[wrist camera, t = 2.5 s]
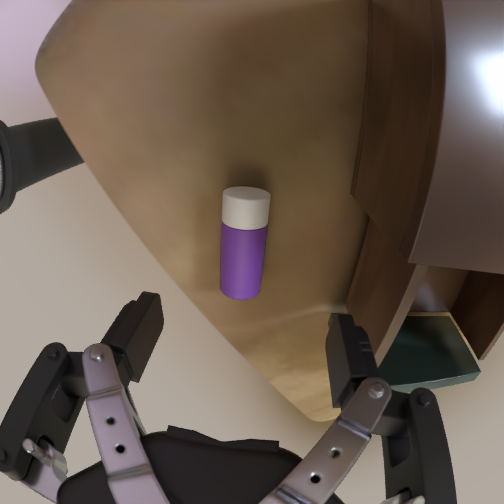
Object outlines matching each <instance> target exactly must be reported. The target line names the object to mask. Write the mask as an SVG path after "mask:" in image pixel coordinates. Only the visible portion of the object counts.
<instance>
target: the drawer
mask: <svg viewBox="0 0 504 504" xmlns="http://www.w3.org/2000/svg"><path fill="white" fill-rule="evenodd" d="M345 303H346V307H347V310H348V313H349V314H351V315H352V316H353V320H354V323H355V326H361V327H362V328H363V329H364V330H365V331H366V333H367V334H368V337H369V340H370V344H371V347H372V352H373V353H374V357H375V360H376V364H377V367H378V371H379V374H380V377H381V379H383V380H385V381H386V382H387V383H388V384H389V385H390V387H391V389H392V390H395V391H399V392H403V393H407V392H412V391H413V390H414V389H416V388H419V387H423V388H427V389H434V388H440V387H445V386H451V385H455V384H460V383H464V382H468V381H473V380H475V379H476V377H477V376H478V375H479V374H480V372H481V371H480V369H479V367H478V365H477V363H476V361H475V359H474V357H473V356H472V354H471V352H470V350H469V348H468V347H467V345H466V343H465V341H464V340H463V338H462V336H461V335H460V333H459V331H458V330H457V328H456V326H455V325H454V323H453V321H452V320H451V318H450V317H449V316H407V314H408V312H409V311H416V312H450V314H451V315H452V317H453V318H454V320H455V321H456V323H457V324H458V326H459V328H460V329H461V331H462V333H463V334H464V336H465V337H466V339H467V341H468V343H469V344H470V346H471V348H472V349H473V351H474V353H475V355H476V356H477V358H478V360H483V359H484V358H485V357H486V356H487V354H488V353H489V351H490V350H491V348H492V347H493V346H494V344H495V343H496V341H497V340H498V338H499V337H500V335H501V333H502V332H503V330H504V274H498V273H490V272H482V271H473V270H465V269H456V268H448V267H439V266H430V265H422V264H413V263H407V262H406V261H405V259H404V258H403V257H402V256H401V254H400V253H399V252H398V251H397V249H396V248H395V247H394V245H393V244H392V243H391V242H390V240H389V239H388V238H387V237H386V235H385V234H384V233H383V232H382V230H381V229H380V228H379V227H378V226H377V224H376V223H375V222H374V221H373V220H372V218H371V217H370V220H369V224H368V228H367V232H366V235H365V239H364V243H363V247H362V250H361V254H360V257H359V261H358V264H357V268H356V271H355V274H354V278H353V281H352V284H351V287H350V290H349V293H348V296H347V299H346V302H345ZM335 314H342V313H331V315H330V318H329V321H328V325H329V329H330V326H331V323H332V320H333V317H334V315H335Z"/></svg>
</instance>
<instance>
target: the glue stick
mask: <svg viewBox="0 0 504 504" xmlns="http://www.w3.org/2000/svg"><path fill="white" fill-rule="evenodd" d="M270 198H271V195H270V193H269V192H267V191H265V190H263V189H259V188H254V187H243V186H240V187H231V188H227V189H225V190H224V191H223V199H222V225H221V260H220V289H221V291H222V293H223V294H224V295H226V296H227V297H230V298H232V299H237V300H246V299H251V298H253V297H255V296H256V295H258V293H259V292H260V288H261V279H262V271H263V262H264V253H265V244H266V235H267V226H268V217H269V208H270Z"/></svg>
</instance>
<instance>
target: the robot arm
mask: <svg viewBox="0 0 504 504" xmlns="http://www.w3.org/2000/svg"><path fill="white" fill-rule="evenodd" d="M4 188H5V163H4V157H3V152H2V149H1V146H0V201H1V199H2V196H3V193H4ZM163 325H164V317H163V311H162V305H161V299H160V295H159V294H158V293H151V292H145V291H144V292H142V293H141V295H140V296H139V298H138V299H137V301H134V300H132V301H130V302H129V303H128V304H126V305H125V306H124V307H123V308H122V310H121V312H120V313H119V315H118V316H117V317H116V319H115V321H114V322H113V324H112V325H111V327H110V328H109V330H108V331H107V333H106V334H105V336H104V338H103V339H102V341H101V342H100V343H98V344H93V345H91V346H89V347H88V348H86V349H85V350H84V352H68V351H67V349H66V347H65V346H64V345H63V344H61V343H58V342H55V343H51V344H49V345H47V346H46V347H45V348H44V349H43V350H42V352H41V353H40V355H39V356H38V358H37V359H36V361H35V363H34V365H33V366H32V368H31V369H30V371H29V373H28V374H27V376H26V378H25V379H24V381H23V383H22V385H21V386H20V388H19V390H18V392H17V394H16V396H15V397H14V399H13V401H12V403H11V405H10V407H9V409H8V411H7V413H6V415H5V417H4V419H3V421H2V423H1V425H0V471H1V472H2V473H4V474H5V475H7V476H9V477H10V478H11V479H12V480H14V481H16V482H18V483H20V484H21V485H23V486H25V487H27V488H30V489H32V490H34V491H35V492H37V493H39V494H40V495H42V496H43V497H45V498H47V499H49V500H50V501H52V502H54V503H56V504H344V503H343V502H342V500H341V499H340V498H339V497H338V496H337V495H336V494H335V493H334V491H335V490H336V488H337V487H338V486H339V485H340V483H341V482H342V481H343V479H344V478H345V477H346V475H347V474H348V473H349V471H350V470H351V468H352V467H353V465H354V464H355V462H356V461H357V460H358V458H359V457H360V455H361V454H362V452H363V450H364V449H365V447H366V446H367V444H368V442H369V441H370V439H371V434H376V435H381V437H382V447H383V457H384V470H385V486H386V500H385V501H383V502H382V503H381V504H457V499H456V490H455V482H454V475H453V469H452V463H451V457H450V452H449V447H448V442H447V438H446V434H445V429H444V425H443V421H442V417H441V414H440V410H439V406H438V403H437V399H436V397H435V395H434V394H433V393H432V392H431V391H430V390H429V389H427V388H423V387H419V388H416V389H414V390H413V391H412V392H411V393H410V394H408V393H403V392H399V391H395V390H392V389H391V387H390V385H389V384H388V383H387V382H386V381H385V380H383V379H381V377H380V374H379V371H378V367H377V364H376V360H375V357H374V353H373V352H372V347H371V344H370V340H369V337H368V334H367V333H366V331H365V330H364V329H363V328H362V327H361V326H355V323H354V320H353V316H352V315H351V314H335V315H334V317H333V320H332V323H331V326H330V329H329V332H328V335H327V338H326V344H325V349H326V357H327V364H328V371H329V379H330V387H331V396H332V404H333V408H341V413H340V415H339V416H338V417H337V418H336V420H335V421H334V422H333V424H332V425H331V426H330V428H329V429H328V430H327V431H326V433H325V434H324V435H323V436H322V438H321V439H320V440H319V441H318V443H317V444H316V445H315V446H314V447H313V448H312V450H311V451H310V452H309V453H308V455H307V456H306V457H305V458H304V459H302V458H301V457H299V456H298V455H296V454H294V453H293V452H291V451H289V450H286V449H284V448H280V447H279V441H274V440H257V439H246V440H236V441H225V442H223V441H218V440H216V439H213V438H211V437H208V436H206V435H203V434H201V433H199V432H196V431H194V430H189V429H184V428H178V427H175V426H170V425H169V426H168V429H167V431H161V432H154V433H150V434H147V433H146V431H145V429H144V427H143V425H142V423H141V420H140V418H139V416H138V413H137V410H136V408H135V405H134V402H133V400H132V397H131V394H130V391H129V388H128V385H129V382H130V381H134V382H137V383H139V381H140V378H141V376H142V374H143V372H144V369H145V367H146V365H147V362H148V360H149V358H150V356H151V353H152V351H153V349H154V347H155V345H156V342H157V340H158V338H159V336H160V334H161V332H162V329H163ZM58 386H59V387H58ZM57 388H58V389H57ZM56 390H57V391H56ZM55 392H56V393H55ZM54 394H55V395H54ZM53 396H54V397H53ZM52 398H53V399H52ZM85 398H86V405H87V409H88V413H89V418H90V421H91V425H92V429H93V433H94V436H95V440H96V443H97V446H98V449H99V452H100V456H101V459H102V460H101V461H99V462H97V463H95V464H94V465H92V466H90V467H88V468H86V469H84V470H82V471H80V472H78V473H77V474H74V475H72V476H70V477H68V478H67V476H66V474H67V472H68V469H67V462H66V459H65V457H64V456H63V454H64V451H65V448H66V445H67V443H68V440H69V437H70V435H71V432H72V429H73V427H74V425H75V422H76V420H77V417H78V415H79V412H80V410H81V408H82V405H83V403H84V401H85Z"/></svg>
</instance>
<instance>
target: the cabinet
mask: <svg viewBox="0 0 504 504" xmlns="http://www.w3.org/2000/svg"><path fill="white" fill-rule="evenodd" d="M350 194H351V196H352V197H353V198H354V199H355V200H356V201H357V202H358V203H359V205H360V206H361V207H362V208H363V209H364V210H365V211H366V213H367V214H368V215H369V216H370V217H371V218H372V220H373V221H374V222H375V223H376V224H377V226H378V227H379V228H380V229H381V230H382V232H383V233H384V234H385V235H386V237H387V238H388V239H389V240H390V242H391V243H392V244H393V245H394V247H395V248H396V249H397V251H398V252H399V253H400V254H401V256H402V257H403V258H404V259H405V261H406V262H407V263H413V264H422V265H430V266H439V267H448V268H456V269H465V270H473V271H482V272H490V273H498V274H504V0H369V31H368V57H367V72H366V85H365V96H364V105H363V114H362V122H361V130H360V138H359V145H358V151H357V158H356V164H355V170H354V176H353V181H352V187H351V192H350Z"/></svg>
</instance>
